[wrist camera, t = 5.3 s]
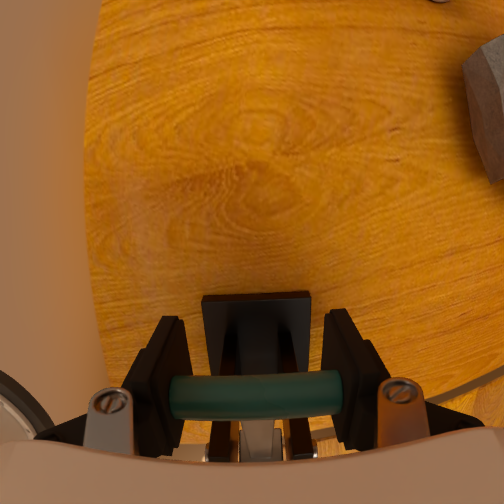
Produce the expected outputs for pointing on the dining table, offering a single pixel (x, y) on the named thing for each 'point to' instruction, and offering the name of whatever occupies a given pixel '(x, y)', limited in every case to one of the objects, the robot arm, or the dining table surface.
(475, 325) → the dining table surface
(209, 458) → the bracket
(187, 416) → the lever
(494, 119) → the potted plant
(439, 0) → the energy drink
